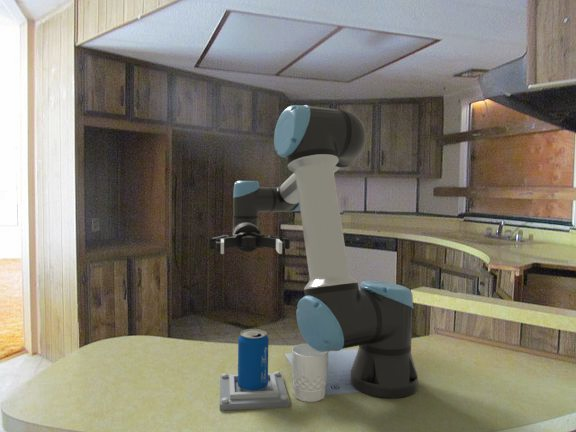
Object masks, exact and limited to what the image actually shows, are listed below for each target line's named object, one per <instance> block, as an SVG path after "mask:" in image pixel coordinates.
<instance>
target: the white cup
mask: <svg viewBox="0 0 576 432" xmlns="http://www.w3.org/2000/svg"><path fill="white" fill-rule="evenodd" d="M329 352H330V351H326V352H320V351H317V350H315V349H313V348H312V347H310V346H309V345H308V343H307V342H306V343H300V344H296V345H294V346H293V347H292V348H291V365H292V366H291V367H292V369H291V370H292V371H291V372H292V383H293V384H292V386H293V391H292V393H293V396H294V397H295V398H296V399H297V400H299V401H303V402H307V403H315V402H318V401H322V399H324V398H325V396H326V395H325V394H326V385H327V379H328V366H329Z"/></svg>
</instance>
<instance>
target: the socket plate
mask: <svg viewBox="0 0 576 432" xmlns="http://www.w3.org/2000/svg"><path fill="white" fill-rule="evenodd" d="M219 382H220V383H219V385H220V386H219V387H220V388H219V411H236V410H255V409H257V410H258V409H259V410H260V409H277V408H279V409H280V408H290V398H289V395H288V391H287V389H286V385H285V381H284V378H283V375H282V373H281V371H274V372H268V385H267V387H265V388H264V389H263V390H262V391H254V392H246V391H243V390H242V389H241V388H240V387H239V386H238V373H235V374H229V373H222V374H221V375H220V380H219Z"/></svg>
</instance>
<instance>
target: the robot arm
mask: <svg viewBox="0 0 576 432" xmlns="http://www.w3.org/2000/svg"><path fill="white" fill-rule="evenodd" d="M273 143H274V144H273V146H274V150H275V152H276V154H277V155H278V157H281V158H284V159H285V158H286V163H287V170H289V172H290V171H291V172H292V174H291V175H290V176H289V177H288V178H287V179H285V181H284V182H283V183H281V185H279V186H278V187H276V186H275V187H272V186H271V187H268V186H267V187H266V186H260V183H259V181H257V180H237V181H235V182H234V185H233V193H232V194H233V195H232V205H233V209H232V210H233V216H232V233H231V234H232V236H229V235H228V234H222V235H219V236H215V237H210V238H208V249H209V250H213V249H215V252H216V253H220V255H224V254H225V249H227V248H234V249H238V250H239V251H241V252H244V253H251V252H252V253H253V252H255V251H256V250H257V249H264V248H271V249H275V250H276V253H278V254H279V255H282V254H283V250H290V247H291V238H288V237H284V235H283V236H282V235H280V236H277V235H274V234H269V235H268V236H266V235H265V234H262V233H261V231H260V230H259V214H260V213H282V212H283V213H285V212H286V213H292V212H298V211H300V217H301V225H302V232H303V238H304V239H303V240H304V247H305V253H306V262H307V269H308V275H309V280H308V282H307V284H306V285H305V286H304V288H303V290H304V291H303V292H304V296H303V297H302V298H300V299H299V300H298V303H297V305H296V306H297V309H296V311H295V312H296V321H297V326H298V329H299V331H300V334H301V336H302V338H303V339H304V341H306V343H308V345H309V346H310V347H312V348H313V349H315V350H317V351H320V352H326V351H329V352H339V351H341V350H344V349H348V348H353V347H358V350H357V352H356V355H355V358H354V360H353V363H352V367H351V368H350V378H349V379H350V380H349V381H350V384H351V385H352V386H353V387H354V388H355V389H356V390H357V391H359V392H362V393H363V394H366V395H370V396H372V397H378V398H387V399H388V398H391V399H397V398H399V399H400V398H405V397H409V396H411V395H413V394H414V393H416V392H417V391H418V388H419V377H418V373H417V370H416V365H415V363H414V359H413V355H412V338H413V336H412V335H413V315H414V314H413V313H414V308H415V307H414V303H413V302H414V301H413V299H414V298H413V292H412V290H411V289H410V288H408V287H407V286H403V285H400V284H397V283H392V282H386V281H377V280H363V281H362V282H361V283H360V286H359V282H358V280H356V278H354V277H353V276H352V275H351V274H350V269H349V263H348V257H347V251H346V244H345V237H344V232H343V231H344V229H343V224H342V218H341V211H340V205H339V199H338V191H337V184H336V178H335V177H336V176H335V173H336V172H337V171H339V170H340V169H346V168H348V167H350V165H352V164H353V163H354V162H355V161H356V160H358V159H359V157H360V156H361V155H362V153H363V152H364V149H366V148H365V147H366V143H367V132H366V127H365V125H364V123H363V122H362V120H361V119H360V117H358V116H357V115H356V114H355V113H354V112H352V111H349V110H346V109H341V108H339V109H337V108H328V107H318V106H311V105H308V104H304V105H297V104H295V105H294V104H293V105H290V106H287V108H285V109H284V110H283V111H282V112H281V113H280V115H279V118H278V120H277V122H276V125H275V130H274V135H273Z"/></svg>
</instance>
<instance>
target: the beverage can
mask: <svg viewBox="0 0 576 432" xmlns="http://www.w3.org/2000/svg"><path fill="white" fill-rule="evenodd" d="M267 334H268V333H267V331H265V330H263V329H260V328H259V329H258V328H249V329H244V330H241V332H240V335H239V337H238V339H237V341H238V342H237V353H238V354H237V374H238V386H239V387H240V388H241V389H242V390H243V391H246V392H254V391H262V390H263V389H264V388H265V387H267V385H268V373H269V343H270V342H269V336H268V335H267Z"/></svg>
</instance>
